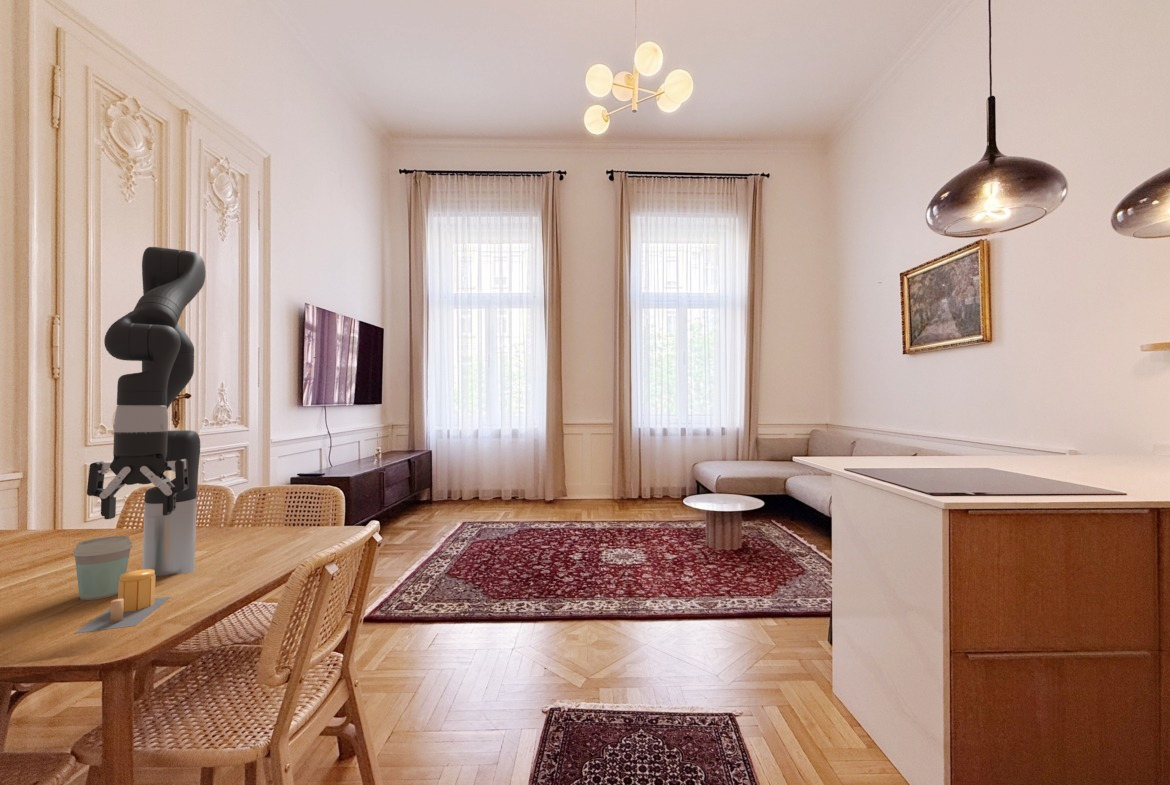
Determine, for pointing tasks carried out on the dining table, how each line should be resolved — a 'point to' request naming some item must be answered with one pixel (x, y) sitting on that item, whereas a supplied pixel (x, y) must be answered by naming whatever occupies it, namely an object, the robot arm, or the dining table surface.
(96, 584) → the coffee cup
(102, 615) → the board
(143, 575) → the wire nut
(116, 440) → the robot arm
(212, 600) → the dining table surface
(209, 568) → the dining table surface
